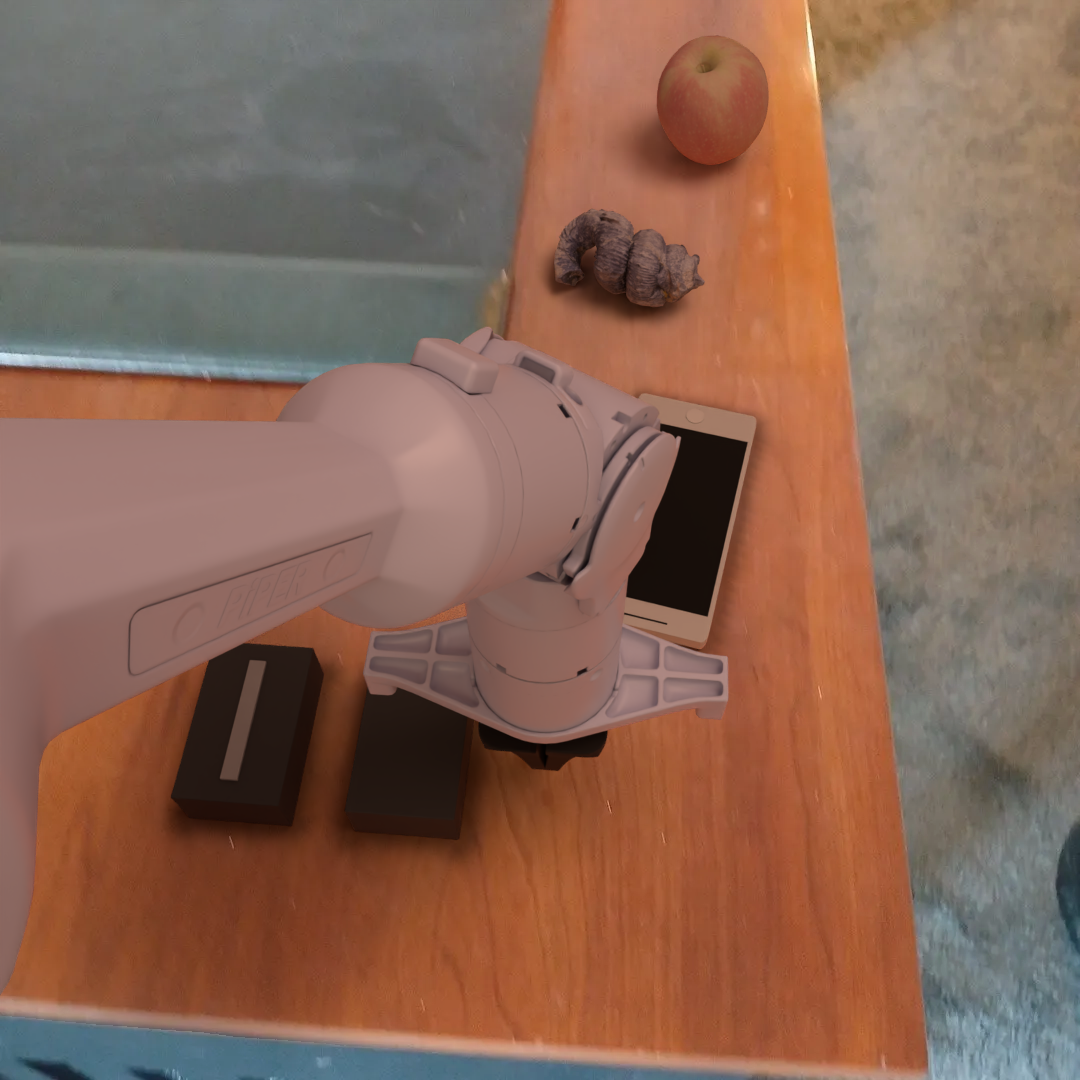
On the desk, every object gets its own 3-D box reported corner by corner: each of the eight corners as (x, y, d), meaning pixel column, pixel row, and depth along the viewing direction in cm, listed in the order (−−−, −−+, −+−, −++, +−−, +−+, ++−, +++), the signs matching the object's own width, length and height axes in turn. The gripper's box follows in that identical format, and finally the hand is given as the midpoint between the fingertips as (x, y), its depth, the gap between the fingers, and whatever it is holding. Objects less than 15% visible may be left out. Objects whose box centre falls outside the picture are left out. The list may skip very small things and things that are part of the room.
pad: (459, 840, 50) (454, 820, 47) (354, 831, 50) (343, 811, 48) (478, 684, 54) (475, 658, 52) (382, 677, 54) (373, 651, 52)
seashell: (552, 285, 71) (695, 327, 69) (535, 271, 66) (689, 315, 64) (576, 207, 70) (721, 247, 69) (561, 186, 65) (717, 229, 63)
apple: (650, 117, 79) (659, 14, 72) (753, 117, 78) (772, 14, 72) (653, 188, 74) (663, 85, 68) (762, 189, 74) (783, 86, 67)
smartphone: (756, 425, 63) (758, 415, 62) (704, 651, 55) (707, 643, 54) (638, 400, 64) (639, 390, 63) (571, 618, 56) (571, 610, 55)
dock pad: (292, 826, 50) (277, 804, 48) (189, 818, 50) (168, 796, 48) (324, 673, 54) (312, 645, 52) (229, 666, 55) (212, 638, 52)
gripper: (743, 533, 40) (701, 683, 52) (367, 508, 41) (408, 662, 53) (747, 704, 37) (701, 825, 48) (333, 674, 37) (384, 800, 49)
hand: (547, 749), depth 50 cm, fingers closed
